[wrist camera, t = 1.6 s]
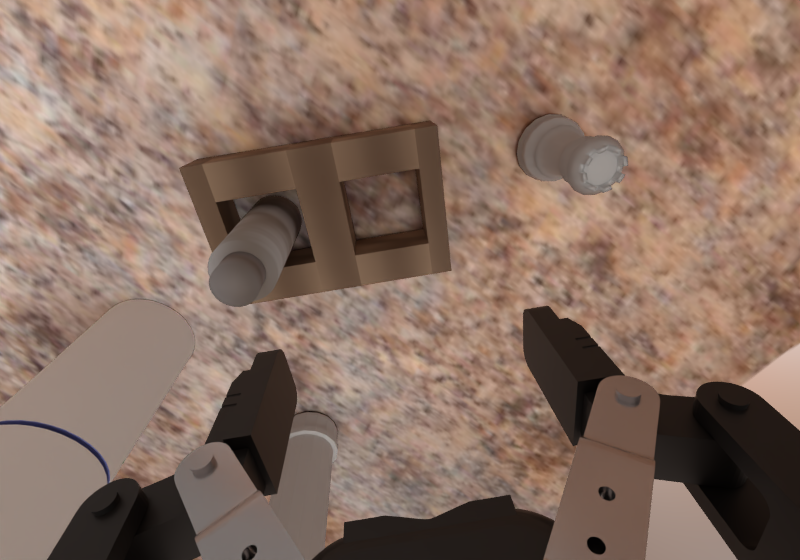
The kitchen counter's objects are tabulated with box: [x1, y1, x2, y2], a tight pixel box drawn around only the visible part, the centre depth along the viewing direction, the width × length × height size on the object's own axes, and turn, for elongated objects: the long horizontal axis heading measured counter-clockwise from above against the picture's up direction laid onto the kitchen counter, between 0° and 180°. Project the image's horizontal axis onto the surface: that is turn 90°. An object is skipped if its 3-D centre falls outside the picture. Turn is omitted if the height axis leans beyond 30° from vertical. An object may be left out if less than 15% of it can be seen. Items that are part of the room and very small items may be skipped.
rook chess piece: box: [517, 114, 628, 195], centre depth 25 cm, size 4×4×8 cm
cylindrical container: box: [0, 299, 195, 560], centre depth 22 cm, size 7×7×25 cm
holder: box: [179, 121, 451, 307], centre depth 25 cm, size 16×10×11 cm, turn 98°
